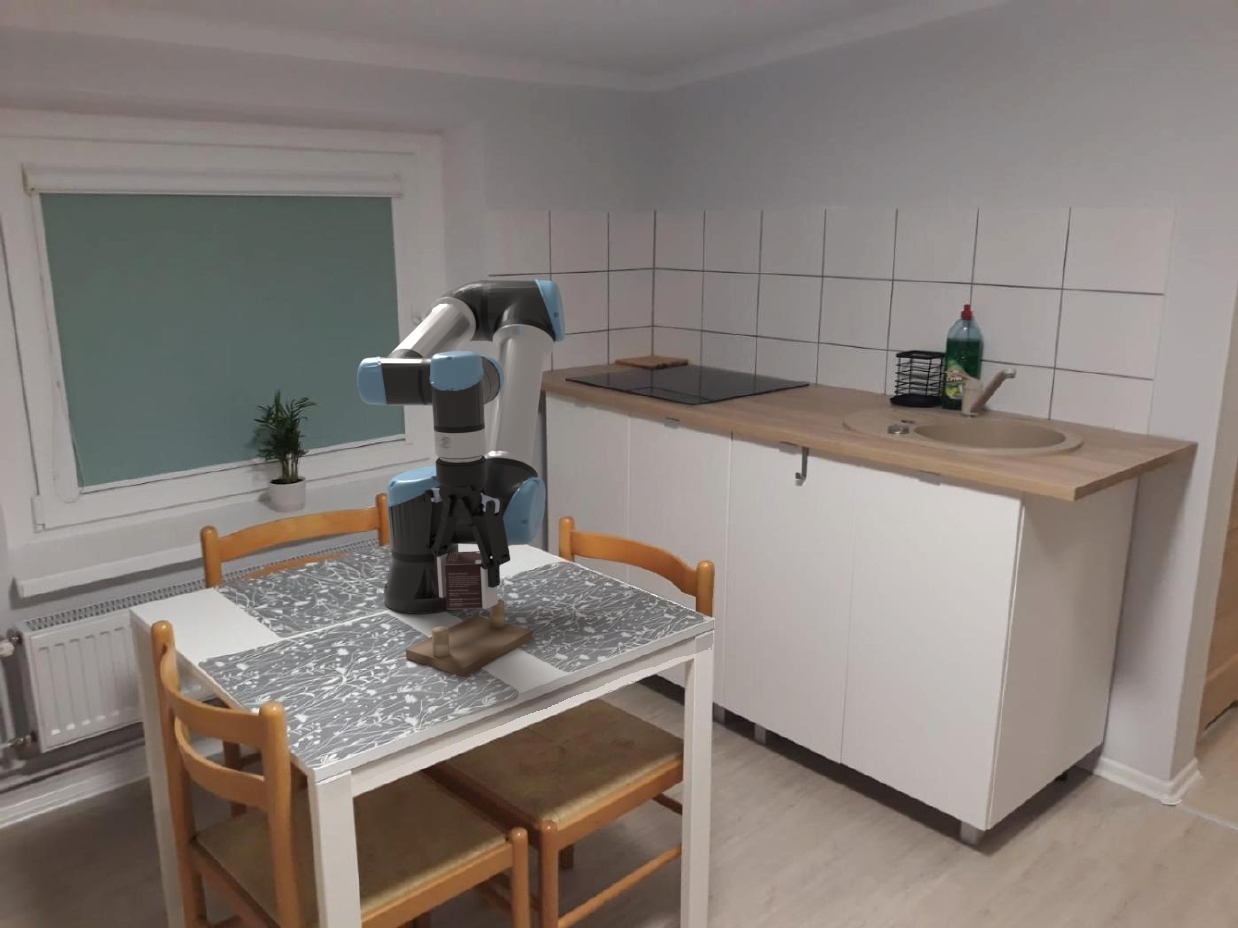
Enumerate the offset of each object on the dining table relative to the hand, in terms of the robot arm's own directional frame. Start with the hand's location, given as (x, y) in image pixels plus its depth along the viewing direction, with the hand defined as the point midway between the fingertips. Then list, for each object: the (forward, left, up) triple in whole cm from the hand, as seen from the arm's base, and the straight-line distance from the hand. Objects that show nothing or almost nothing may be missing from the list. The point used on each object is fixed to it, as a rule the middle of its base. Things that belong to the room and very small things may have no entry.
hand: (468, 600), depth 151 cm
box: (0, 0, -1) cm, 1 cm away
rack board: (0, 0, -8) cm, 8 cm away
